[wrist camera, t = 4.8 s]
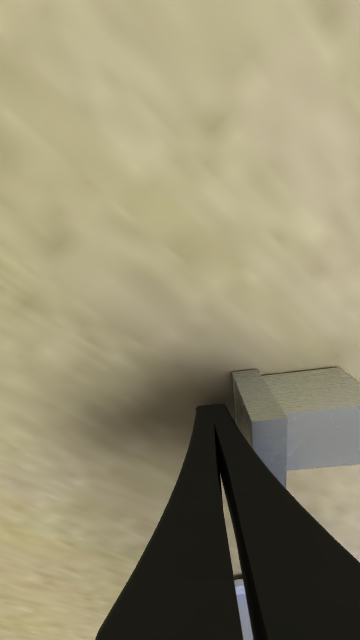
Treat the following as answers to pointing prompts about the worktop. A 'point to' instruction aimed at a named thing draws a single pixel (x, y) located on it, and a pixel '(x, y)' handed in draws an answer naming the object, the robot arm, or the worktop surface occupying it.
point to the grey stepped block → (299, 418)
